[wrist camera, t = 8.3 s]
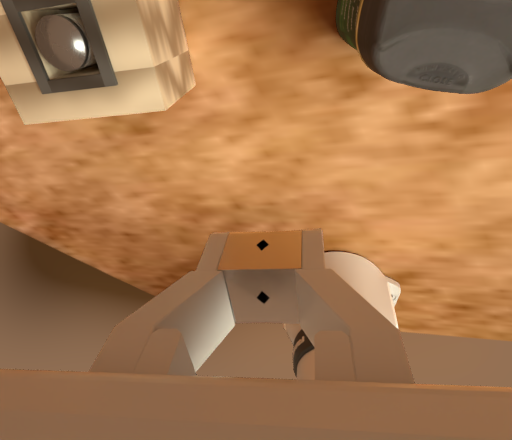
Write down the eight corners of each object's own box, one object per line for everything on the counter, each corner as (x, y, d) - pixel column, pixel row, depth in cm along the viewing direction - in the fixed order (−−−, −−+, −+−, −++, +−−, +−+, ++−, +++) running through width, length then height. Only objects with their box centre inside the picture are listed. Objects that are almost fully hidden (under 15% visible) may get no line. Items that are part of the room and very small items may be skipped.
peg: (141, 51, 36) (92, 68, 27) (107, 56, 36) (49, 73, 28) (129, 7, 34) (72, 11, 25) (92, 13, 34) (25, 18, 26)
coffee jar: (327, 44, 34) (346, 84, 18) (350, -57, 29) (401, -116, 14) (423, 60, 34) (524, 114, 18) (461, -40, 29) (637, -79, 14)
